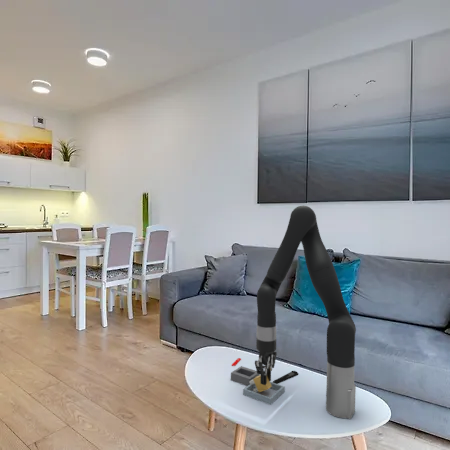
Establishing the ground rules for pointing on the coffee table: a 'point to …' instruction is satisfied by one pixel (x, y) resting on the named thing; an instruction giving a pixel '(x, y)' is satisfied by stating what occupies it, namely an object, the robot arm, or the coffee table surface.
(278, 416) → the coffee table surface
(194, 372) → the coffee table surface
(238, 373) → the block
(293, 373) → the electric trimmer
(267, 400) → the tray
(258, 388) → the block
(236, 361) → the swiss army knife
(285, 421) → the coffee table surface
